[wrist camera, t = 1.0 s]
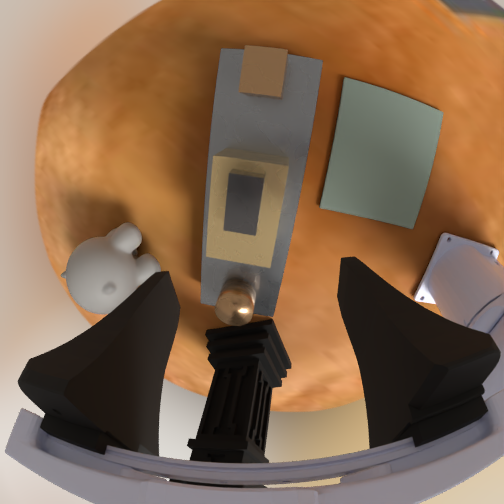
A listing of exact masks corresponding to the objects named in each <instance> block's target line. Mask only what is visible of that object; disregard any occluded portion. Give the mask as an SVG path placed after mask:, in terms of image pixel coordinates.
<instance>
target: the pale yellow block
mask: <svg viewBox="0 0 504 504" xmlns="http://www.w3.org/2000/svg"><path fill="white" fill-rule="evenodd" d="M288 168H289V157H284V156H279V155H272V154H266V153H260V152H253V151H246V150H238V149H230V148H225V149H224V150H222V151H220V152H218V153H217V154H215V155H213V163H212V174H211V186H210V199H209V213H208V229H207V247H206V257H211V258H217V259H222V260H228V261H233V262H239V263H244V264H250V265H255V266H261V267H267V268H270V267H271V262H272V257H273V251H274V246H275V241H276V235H277V230H278V225H279V219H280V214H281V208H282V203H283V197H284V191H285V186H286V180H287V174H288Z"/></svg>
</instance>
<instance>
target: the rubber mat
mask: <svg viewBox="0 0 504 504" xmlns="http://www.w3.org/2000/svg"><path fill="white" fill-rule="evenodd" d="M442 118H443V112H441V111H439V110H437V109H435V108H433V107H430V106H428V105H426V104H423V103H421V102H418V101H416V100H414V99H411V98H408V97H406V96H403V95H400V94H398V93H395V92H392V91H389V90H386V89H383V88H380V87H377V86H374V85H371V84H368V83H364V82H361V81H357V80H354V79H350V78H346V77H344V80H343V86H342V93H341V99H340V105H339V111H338V117H337V122H336V128H335V133H334V139H333V144H332V149H331V154H330V159H329V164H328V169H327V174H326V179H325V183H324V188H323V192H322V197H321V201H320V206H319V207H320V208H322V209H327V210H332V211H337V212H342V213H346V214H351V215H355V216H360V217H364V218H369V219H373V220H377V221H382V222H386V223H390V224H394V225H398V226H402V227H406V228H410V229H413V228H414V225H415V222H416V219H417V216H418V213H419V210H420V207H421V204H422V201H423V197H424V194H425V191H426V187H427V184H428V180H429V177H430V173H431V169H432V165H433V161H434V157H435V153H436V148H437V144H438V139H439V134H440V129H441V124H442Z"/></svg>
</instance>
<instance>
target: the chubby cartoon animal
mask: <svg viewBox="0 0 504 504" xmlns="http://www.w3.org/2000/svg"><path fill="white" fill-rule="evenodd" d="M141 241H142V236H141V232H140V230H139V229H138V227H137V226H135V225H134V224H132V223H130V222H126V223H123V224H122V225H120V226H119V227H118V228H115V229H113V230H111V231H110V232H109V233H108V234H107V235H106V236H105V237H94V238H90V239H88V240H86V241H84V242H82V243H81V244H80V245H78V246H77V247H76V248H75V250H74V251H73V252H72V254H71V256H70V258H69V260H68V263H67V267H66V271H65V272H63V273H62V274H61V277H63V278H66V282H67V286H68V289H69V292H70V294H71V296H72V297H73V299H74V300H75V301H76V302H77V303H78V304H79V305H80V306H81V307H82V308H84V309H85V310H87V311H89V312H92V313H95V314H109V313H110V312H112V311H113V310H114V309H115V308H116V307H117V306H118V305H120V304H121V303H122V302H123V301H124V300H125V299H126V298H127V297H129V296H130V295H131V294H132V293H133V292H134V291H135V290H136V288H137V287H138V286H139V285H141V284H142V283H144V282H145V281H146V280H147V279H148V278H149V277H150V276H151V275H153V274H154V273H155V272H161V268H160V264H159V262H158V261H157V259H156V258H155V257H154V256H153V255H151V254H150V253H146V254H143V255H142V256H140V257H138V256H137V253H138V252H137V249H136V248H137V247H138V246H139V245H140V244H141Z"/></svg>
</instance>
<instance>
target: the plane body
mask: <svg viewBox="0 0 504 504" xmlns="http://www.w3.org/2000/svg"><path fill="white" fill-rule="evenodd" d="M322 63H323V60H318V59H313V58H308V57H302V56H296V55H290V54H288V50H287V49H280V48H272V47H262V46H251V45H245V49H223V48H221V53H220V60H219V67H218V74H217V81H216V89H215V97H214V106H213V114H212V124H211V133H210V143H209V154H208V166H207V178H206V192H205V207H204V223H203V243H202V269H201V303H203V304H207V305H212V306H215V313H216V315H217V317H218V318H219V319H220V320H221V321H222V322H224V323H226V324H228V325H232V326H241V325H244V324H247V323H248V322H249V321H250V320H251V318H252V315H253V314H259V315H265V316H270V317H273V315H274V311H275V307H276V303H277V299H278V294H279V290H280V286H281V281H282V277H283V273H284V268H285V264H286V259H287V255H288V250H289V246H290V241H291V236H292V232H293V227H294V222H295V217H296V212H297V207H298V202H299V197H300V192H301V187H302V182H303V177H304V172H305V166H306V161H307V155H308V150H309V144H310V139H311V133H312V127H313V121H314V115H315V109H316V103H317V97H318V90H319V84H320V77H321V70H322ZM225 148H230V149H238V150H246V151H253V152H260V153H266V154H272V155H279V156H284V157H289V168H288V174H287V180H286V186H285V191H284V197H283V203H282V208H281V214H280V219H279V225H278V230H277V235H276V241H275V246H274V251H273V257H272V262H271V267H270V268H267V267H261V266H255V265H250V264H244V263H239V262H233V261H228V260H222V259H217V258H211V257H206V247H207V229H208V213H209V199H210V186H211V174H212V163H213V155H215V154H217V153H218V152H220V151H222V150H224V149H225Z"/></svg>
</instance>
